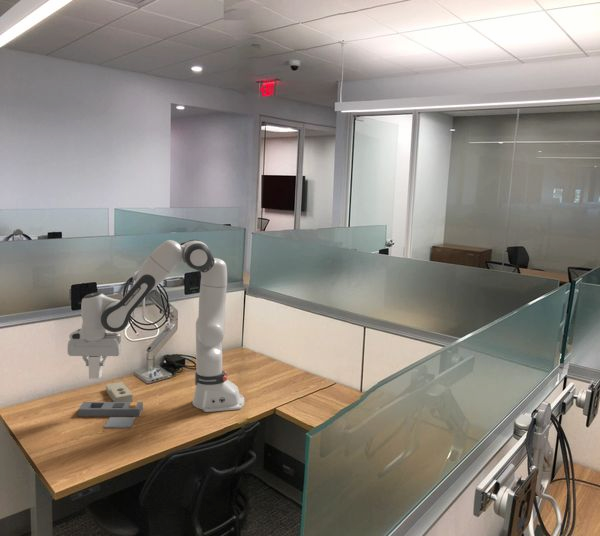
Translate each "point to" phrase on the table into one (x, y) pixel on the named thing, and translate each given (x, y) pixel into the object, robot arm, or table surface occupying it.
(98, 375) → the charger
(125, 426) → the mat
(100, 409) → the power strip
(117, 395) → the electrical outlet
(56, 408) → the table surface
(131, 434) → the table surface
